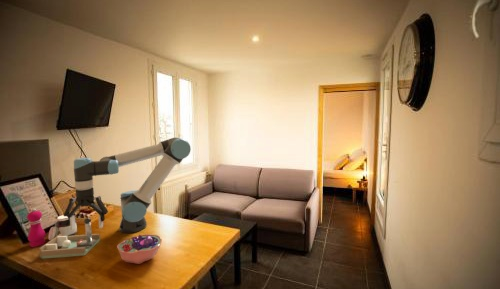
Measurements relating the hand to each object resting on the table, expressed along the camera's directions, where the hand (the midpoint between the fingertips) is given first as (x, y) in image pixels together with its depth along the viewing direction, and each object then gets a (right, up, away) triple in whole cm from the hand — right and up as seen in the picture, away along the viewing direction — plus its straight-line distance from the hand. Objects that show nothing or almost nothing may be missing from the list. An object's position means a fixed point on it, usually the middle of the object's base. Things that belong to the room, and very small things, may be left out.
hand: (87, 228), depth 122 cm
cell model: (+32, -12, -10) cm, 36 cm away
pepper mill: (-31, -11, +5) cm, 33 cm away
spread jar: (-24, -10, +13) cm, 29 cm away
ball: (-11, -8, 0) cm, 13 cm away
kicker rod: (-1, -9, +1) cm, 9 cm away
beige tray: (-8, -11, 0) cm, 14 cm away
